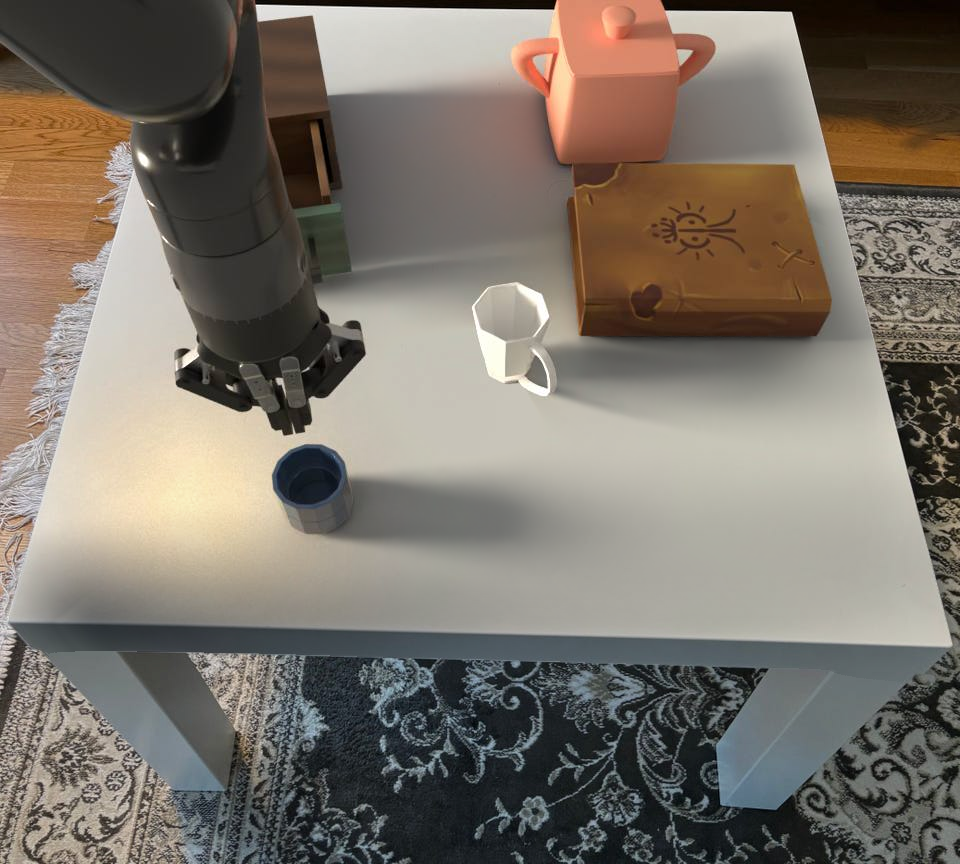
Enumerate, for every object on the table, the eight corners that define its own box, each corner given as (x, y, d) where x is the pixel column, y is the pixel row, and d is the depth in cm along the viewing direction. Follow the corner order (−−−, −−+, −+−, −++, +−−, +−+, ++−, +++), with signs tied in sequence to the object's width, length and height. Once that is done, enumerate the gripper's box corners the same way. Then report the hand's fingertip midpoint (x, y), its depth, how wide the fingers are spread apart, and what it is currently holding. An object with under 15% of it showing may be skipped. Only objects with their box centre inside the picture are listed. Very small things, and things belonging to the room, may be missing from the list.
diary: (579, 343, 86) (585, 305, 81) (566, 204, 96) (572, 163, 91) (813, 342, 87) (834, 304, 82) (778, 204, 96) (794, 162, 91)
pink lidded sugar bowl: (708, 165, 99) (741, 56, 88) (513, 173, 98) (519, 63, 87) (676, 53, 110) (701, -59, 98) (499, 59, 109) (503, -53, 97)
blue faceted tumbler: (287, 544, 75) (275, 515, 70) (281, 481, 78) (269, 450, 74) (358, 531, 76) (350, 502, 71) (348, 469, 79) (341, 437, 74)
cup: (515, 324, 88) (519, 269, 81) (579, 393, 83) (589, 341, 76) (456, 357, 85) (455, 304, 78) (519, 430, 81) (524, 380, 74)
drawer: (359, 312, 87) (349, 252, 80) (229, 332, 86) (207, 274, 78) (334, 172, 97) (323, 108, 90) (217, 188, 96) (197, 125, 88)
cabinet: (342, 188, 97) (330, 110, 88) (215, 206, 96) (189, 128, 87) (325, 94, 105) (312, 14, 96) (207, 109, 104) (183, 30, 95)
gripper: (347, 203, 54) (374, 368, 69) (123, 236, 52) (200, 398, 67) (365, 297, 50) (389, 450, 65) (124, 336, 49) (205, 484, 63)
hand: (293, 424), depth 66 cm, fingers closed
